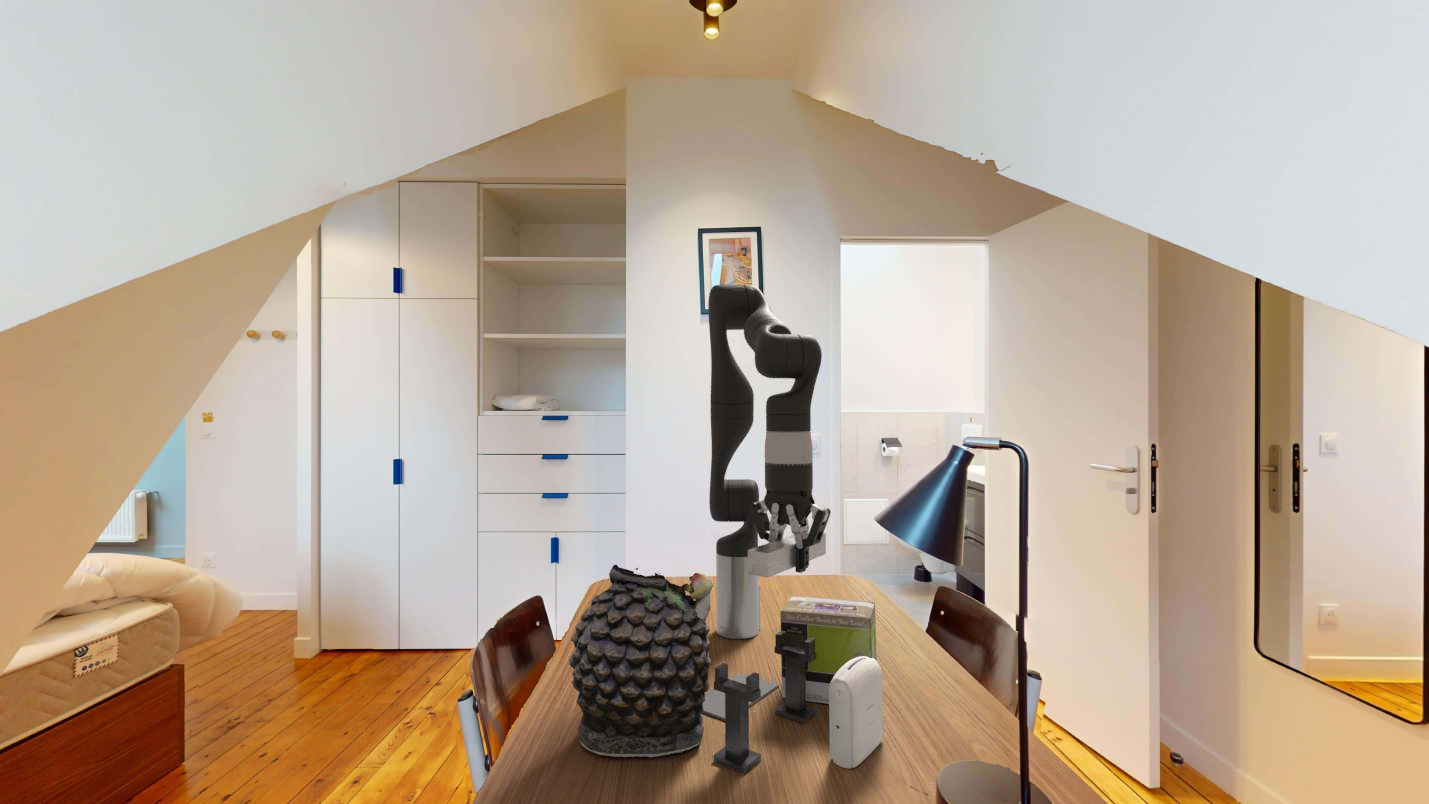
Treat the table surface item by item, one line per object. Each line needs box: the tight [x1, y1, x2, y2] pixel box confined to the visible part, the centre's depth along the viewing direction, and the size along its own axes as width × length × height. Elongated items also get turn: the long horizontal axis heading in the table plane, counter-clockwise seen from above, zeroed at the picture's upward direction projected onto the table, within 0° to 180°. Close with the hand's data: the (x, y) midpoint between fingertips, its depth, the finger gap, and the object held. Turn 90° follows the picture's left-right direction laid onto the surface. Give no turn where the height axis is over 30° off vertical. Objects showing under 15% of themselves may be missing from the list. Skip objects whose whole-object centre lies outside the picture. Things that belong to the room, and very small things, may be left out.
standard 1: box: [713, 662, 762, 775], centre depth 79 cm, size 4×6×12 cm, turn 53°
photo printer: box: [828, 656, 884, 769], centre depth 82 cm, size 10×4×12 cm, turn 140°
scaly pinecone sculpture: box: [568, 564, 714, 758], centre depth 85 cm, size 21×15×25 cm
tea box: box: [780, 595, 878, 705], centre depth 100 cm, size 15×10×15 cm, turn 71°
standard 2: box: [774, 630, 817, 725], centre depth 92 cm, size 4×6×12 cm, turn 53°
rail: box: [748, 530, 827, 579], centre depth 92 cm, size 18×4×4 cm, turn 142°
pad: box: [701, 672, 780, 722], centre depth 98 cm, size 15×8×1 cm, turn 143°
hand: (789, 568), depth 92 cm, fingers closed on rail, 3 cm apart
